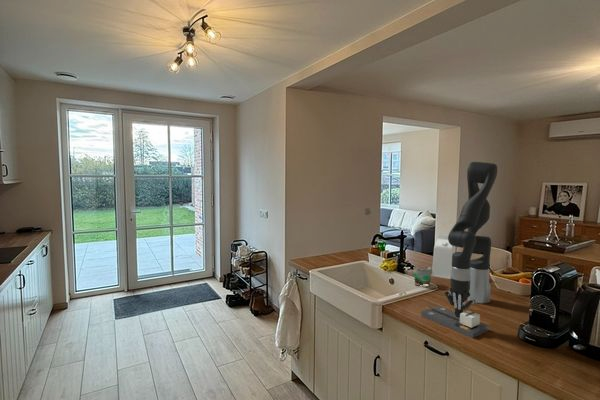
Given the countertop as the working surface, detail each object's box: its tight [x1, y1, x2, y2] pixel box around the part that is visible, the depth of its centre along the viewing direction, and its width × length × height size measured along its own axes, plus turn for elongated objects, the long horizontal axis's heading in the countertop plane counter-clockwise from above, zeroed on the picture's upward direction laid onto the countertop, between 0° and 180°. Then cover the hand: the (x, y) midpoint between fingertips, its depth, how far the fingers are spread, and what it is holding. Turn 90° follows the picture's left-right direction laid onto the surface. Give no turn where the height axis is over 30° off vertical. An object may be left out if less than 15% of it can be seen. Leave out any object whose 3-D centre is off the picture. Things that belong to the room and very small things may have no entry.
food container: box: [413, 266, 432, 287], centre depth 185 cm, size 12×6×10 cm, turn 117°
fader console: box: [420, 305, 490, 339], centre depth 139 cm, size 24×12×2 cm, turn 32°
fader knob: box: [460, 310, 481, 328], centre depth 133 cm, size 5×6×4 cm
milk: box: [431, 234, 455, 280], centre depth 204 cm, size 12×12×26 cm
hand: (458, 316), depth 137 cm, fingers closed
